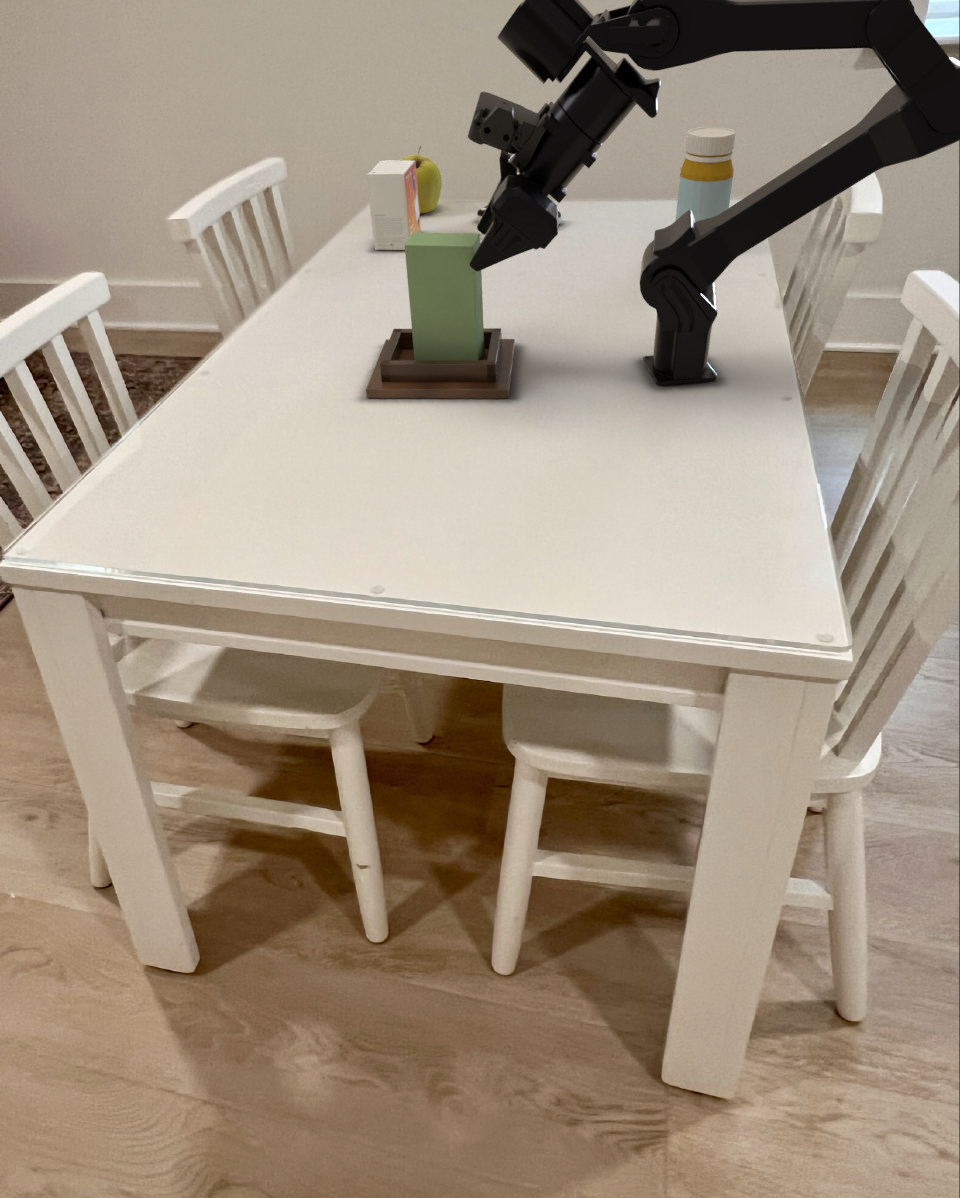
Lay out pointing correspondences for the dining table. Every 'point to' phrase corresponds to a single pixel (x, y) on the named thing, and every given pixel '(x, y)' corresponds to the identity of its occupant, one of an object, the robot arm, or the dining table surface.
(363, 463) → the dining table surface
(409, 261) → the green rectangular block
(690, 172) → the bottle
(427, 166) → the apple
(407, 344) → the mount dock
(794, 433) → the dining table surface
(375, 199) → the small box
